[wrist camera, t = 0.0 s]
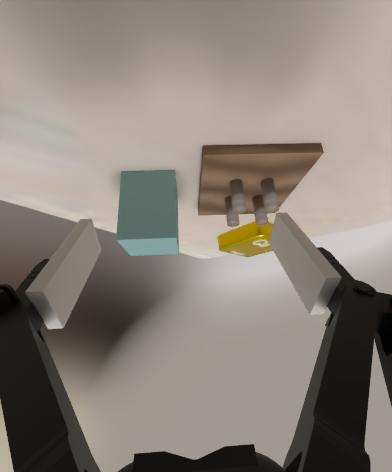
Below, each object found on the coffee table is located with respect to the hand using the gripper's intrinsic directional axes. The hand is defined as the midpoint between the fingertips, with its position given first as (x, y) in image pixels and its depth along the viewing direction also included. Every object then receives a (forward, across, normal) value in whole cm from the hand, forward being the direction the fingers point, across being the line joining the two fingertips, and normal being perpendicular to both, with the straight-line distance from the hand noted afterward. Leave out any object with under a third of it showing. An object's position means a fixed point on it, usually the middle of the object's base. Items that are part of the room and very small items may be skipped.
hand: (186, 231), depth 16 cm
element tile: (+38, +19, -26) cm, 50 cm away
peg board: (+22, +11, -5) cm, 25 cm away
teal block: (+22, -5, -5) cm, 24 cm away
